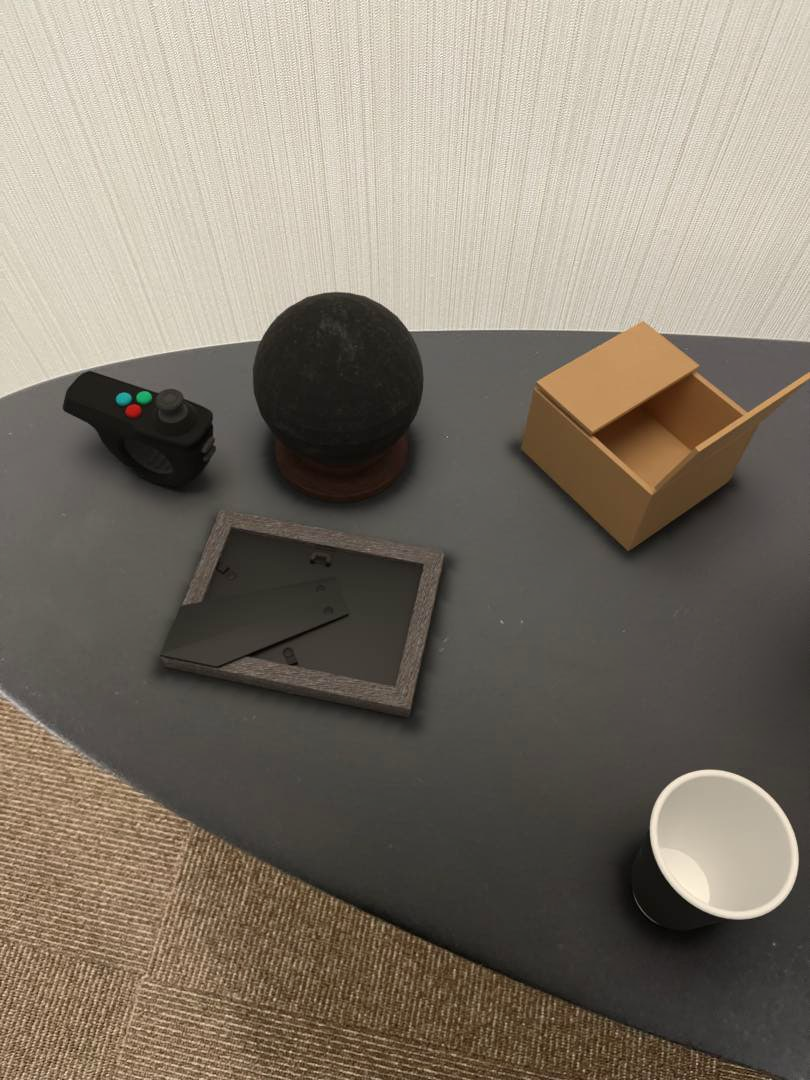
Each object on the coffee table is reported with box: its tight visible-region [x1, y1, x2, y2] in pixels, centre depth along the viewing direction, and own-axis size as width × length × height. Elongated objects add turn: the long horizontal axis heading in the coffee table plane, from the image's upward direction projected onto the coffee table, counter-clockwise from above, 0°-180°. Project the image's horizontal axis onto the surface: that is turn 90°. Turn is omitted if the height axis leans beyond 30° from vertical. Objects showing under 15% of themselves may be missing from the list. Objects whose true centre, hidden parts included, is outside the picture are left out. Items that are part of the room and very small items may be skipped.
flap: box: [654, 371, 810, 491], centre depth 65 cm, size 6×12×1 cm
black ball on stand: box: [252, 291, 424, 504], centre depth 71 cm, size 13×13×15 cm
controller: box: [62, 370, 217, 487], centre depth 71 cm, size 4×12×10 cm, turn 67°
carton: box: [520, 320, 761, 552], centre depth 74 cm, size 13×12×8 cm
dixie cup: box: [630, 769, 800, 932], centre depth 53 cm, size 8×8×11 cm
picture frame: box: [159, 508, 446, 719], centre depth 67 cm, size 13×2×18 cm
